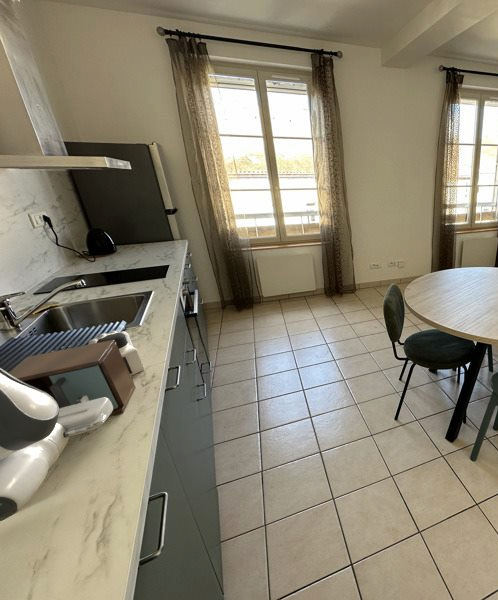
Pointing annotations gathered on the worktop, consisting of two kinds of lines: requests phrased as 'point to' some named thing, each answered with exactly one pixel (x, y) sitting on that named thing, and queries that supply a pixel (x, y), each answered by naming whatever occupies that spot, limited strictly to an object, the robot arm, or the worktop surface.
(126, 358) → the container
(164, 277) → the worktop surface
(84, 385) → the sliding door
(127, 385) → the cupboard
